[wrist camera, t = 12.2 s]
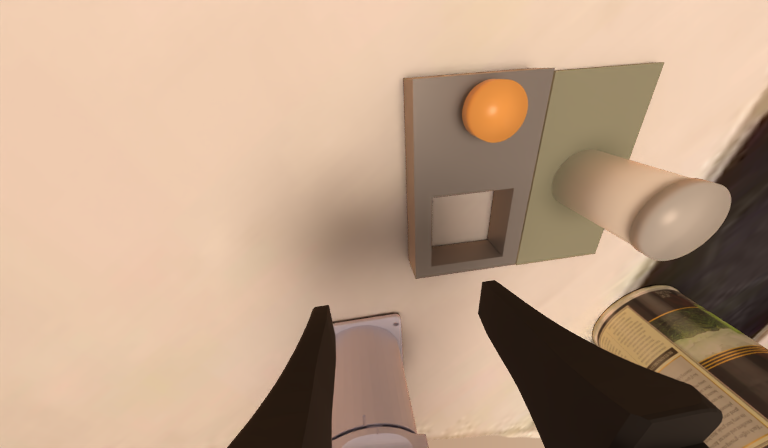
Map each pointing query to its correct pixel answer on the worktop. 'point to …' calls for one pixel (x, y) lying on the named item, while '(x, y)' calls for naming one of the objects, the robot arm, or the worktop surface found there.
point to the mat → (577, 133)
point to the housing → (468, 167)
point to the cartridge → (642, 202)
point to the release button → (495, 109)
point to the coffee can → (694, 357)
